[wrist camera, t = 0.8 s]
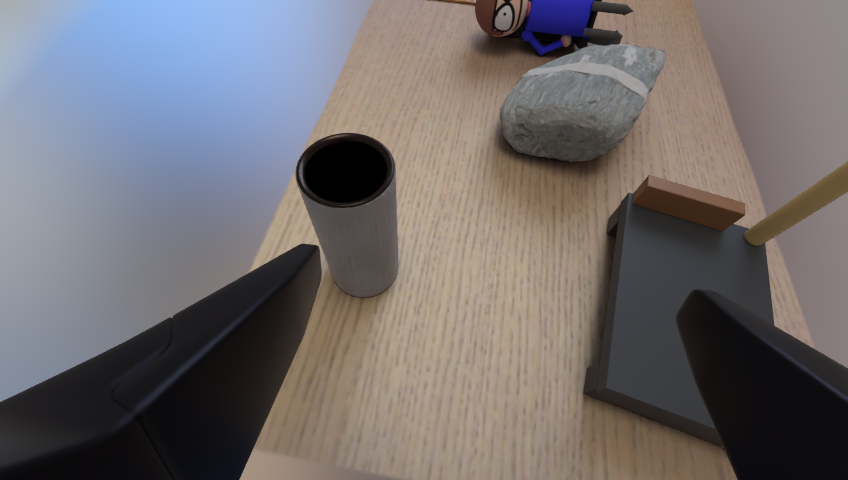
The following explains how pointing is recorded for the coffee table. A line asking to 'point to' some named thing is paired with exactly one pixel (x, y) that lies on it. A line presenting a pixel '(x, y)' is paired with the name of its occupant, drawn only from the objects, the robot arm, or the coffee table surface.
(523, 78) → the decorative stone
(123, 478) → the robot arm
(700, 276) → the stand with wooden pole
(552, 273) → the coffee table surface
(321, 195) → the planter
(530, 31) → the character figurine
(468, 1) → the board
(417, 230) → the coffee table surface
